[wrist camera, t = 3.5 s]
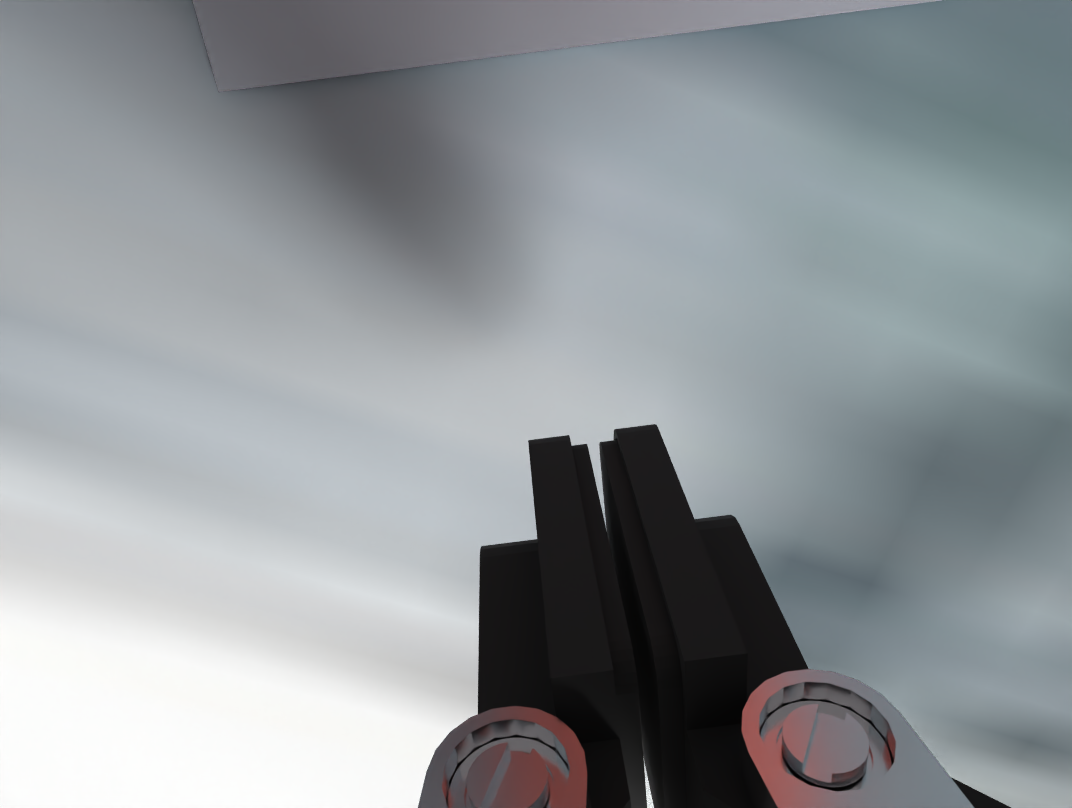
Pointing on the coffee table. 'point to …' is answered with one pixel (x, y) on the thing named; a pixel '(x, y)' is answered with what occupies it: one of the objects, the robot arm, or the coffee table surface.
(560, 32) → the lane
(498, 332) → the coffee table surface
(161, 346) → the coffee table surface
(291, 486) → the coffee table surface
